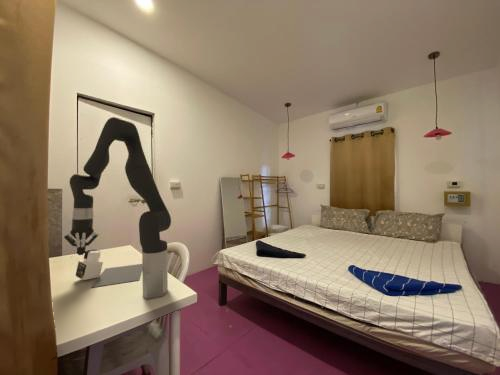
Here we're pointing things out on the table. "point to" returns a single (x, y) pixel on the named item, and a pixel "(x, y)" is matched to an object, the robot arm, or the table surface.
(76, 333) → the table surface
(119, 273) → the mat
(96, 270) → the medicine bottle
